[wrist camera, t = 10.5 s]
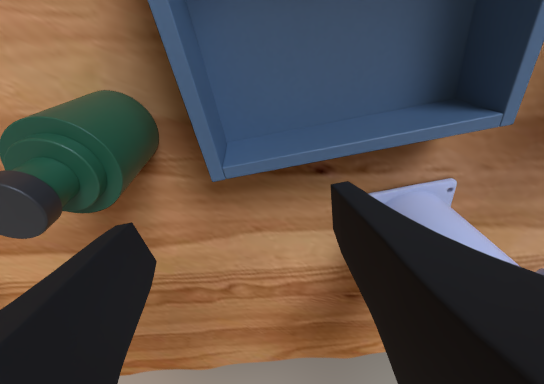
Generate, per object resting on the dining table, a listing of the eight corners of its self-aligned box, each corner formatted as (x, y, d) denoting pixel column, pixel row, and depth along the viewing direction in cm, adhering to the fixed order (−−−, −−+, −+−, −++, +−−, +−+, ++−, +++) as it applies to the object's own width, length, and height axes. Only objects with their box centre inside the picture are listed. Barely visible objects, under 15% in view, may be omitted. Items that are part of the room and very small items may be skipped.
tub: (530, -217, 11) (693, -363, 7) (456, 105, 18) (513, 124, 14) (133, -127, 11) (71, -214, 7) (219, 151, 18) (212, 182, 14)
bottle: (170, 157, 18) (110, 250, 10) (103, 170, 18) (-7, 272, 11) (138, 82, 15) (22, 132, 8) (59, 99, 16) (-136, 164, 8)
